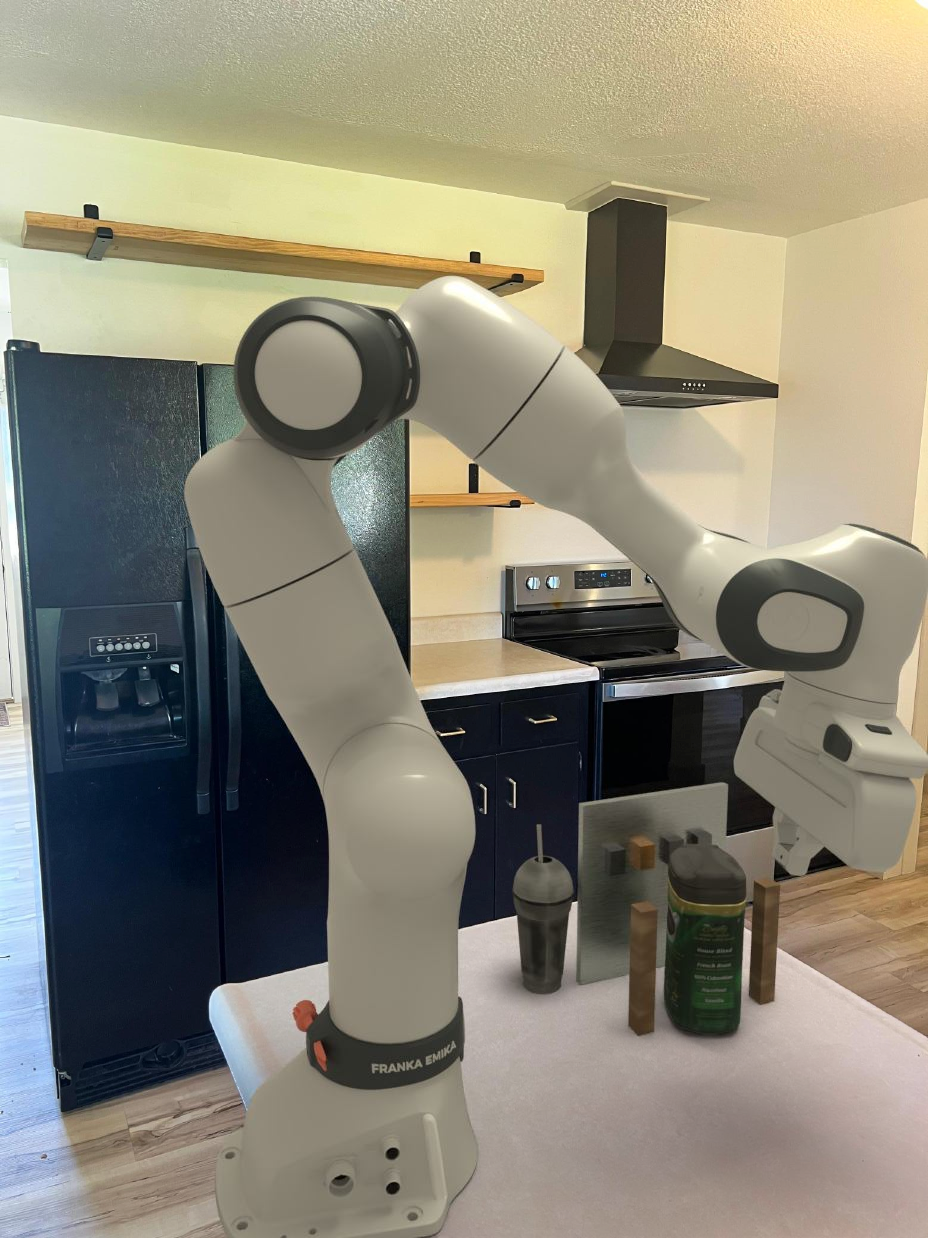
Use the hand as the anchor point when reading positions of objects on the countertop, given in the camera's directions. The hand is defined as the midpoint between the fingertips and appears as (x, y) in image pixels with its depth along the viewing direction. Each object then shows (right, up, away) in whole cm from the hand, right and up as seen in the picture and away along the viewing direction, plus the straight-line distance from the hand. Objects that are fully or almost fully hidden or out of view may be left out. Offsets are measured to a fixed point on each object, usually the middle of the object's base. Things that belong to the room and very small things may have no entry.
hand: (787, 867), depth 78 cm
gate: (-2, -22, +21) cm, 31 cm away
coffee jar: (-2, -22, +21) cm, 31 cm away
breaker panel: (-6, -21, +31) cm, 38 cm away
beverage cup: (-19, -22, +27) cm, 40 cm away
